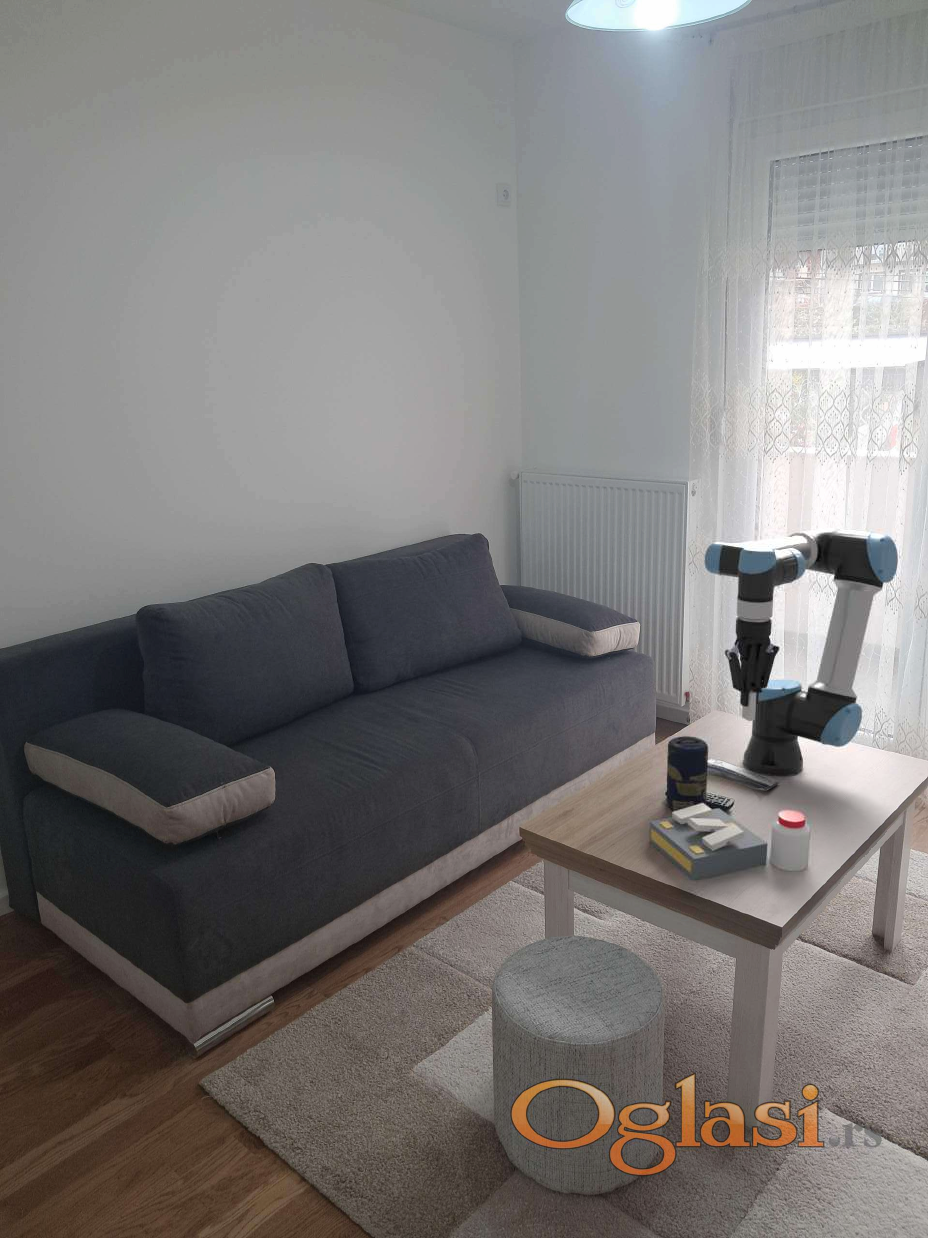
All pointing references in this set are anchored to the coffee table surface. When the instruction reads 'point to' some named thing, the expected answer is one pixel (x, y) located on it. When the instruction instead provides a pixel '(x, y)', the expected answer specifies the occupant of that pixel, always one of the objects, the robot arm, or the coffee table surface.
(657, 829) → the switch unit
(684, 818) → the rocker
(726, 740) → the coffee table surface
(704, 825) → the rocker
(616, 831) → the coffee table surface
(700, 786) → the canister
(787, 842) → the pill bottle
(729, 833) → the block
